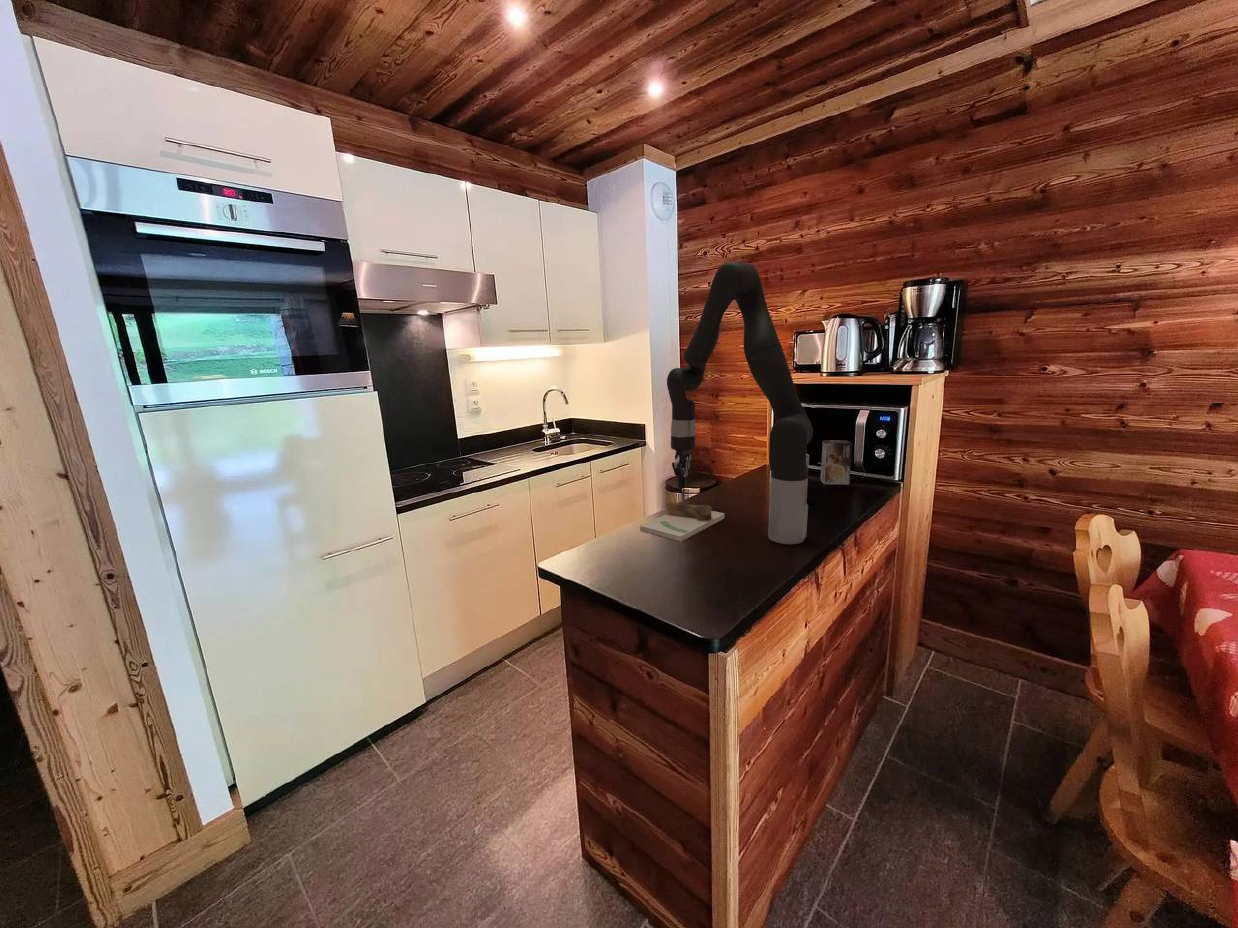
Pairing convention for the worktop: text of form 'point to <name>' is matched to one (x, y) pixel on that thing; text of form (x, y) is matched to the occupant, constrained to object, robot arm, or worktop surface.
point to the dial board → (679, 525)
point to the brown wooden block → (689, 510)
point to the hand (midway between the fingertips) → (682, 487)
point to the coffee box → (836, 462)
